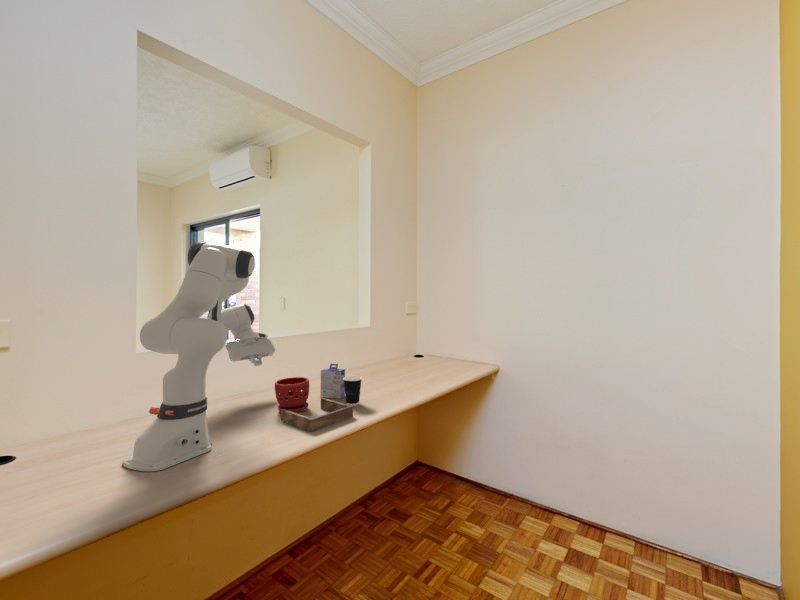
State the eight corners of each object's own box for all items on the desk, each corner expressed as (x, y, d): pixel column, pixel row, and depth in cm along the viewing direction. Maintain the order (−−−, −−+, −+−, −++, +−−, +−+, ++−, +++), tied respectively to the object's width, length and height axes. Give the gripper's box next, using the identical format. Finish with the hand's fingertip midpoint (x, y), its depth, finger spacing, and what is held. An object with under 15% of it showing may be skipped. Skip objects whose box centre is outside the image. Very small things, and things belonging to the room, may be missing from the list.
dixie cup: (359, 400, 159) (359, 375, 159) (364, 405, 151) (364, 379, 151) (341, 402, 156) (341, 376, 156) (345, 407, 149) (345, 380, 148)
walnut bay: (281, 420, 134) (281, 409, 134) (323, 407, 149) (323, 397, 149) (311, 432, 123) (311, 420, 123) (352, 416, 138) (353, 406, 138)
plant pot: (303, 403, 155) (303, 374, 154) (313, 412, 144) (313, 381, 143) (271, 408, 148) (271, 378, 148) (279, 418, 137) (279, 385, 136)
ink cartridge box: (345, 395, 166) (345, 363, 166) (341, 399, 161) (341, 366, 161) (325, 394, 168) (325, 362, 168) (320, 397, 163) (320, 365, 163)
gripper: (226, 338, 157) (238, 364, 151) (269, 333, 173) (281, 357, 167) (221, 347, 160) (233, 373, 154) (264, 342, 176) (276, 365, 170)
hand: (258, 364), depth 161 cm, fingers closed
